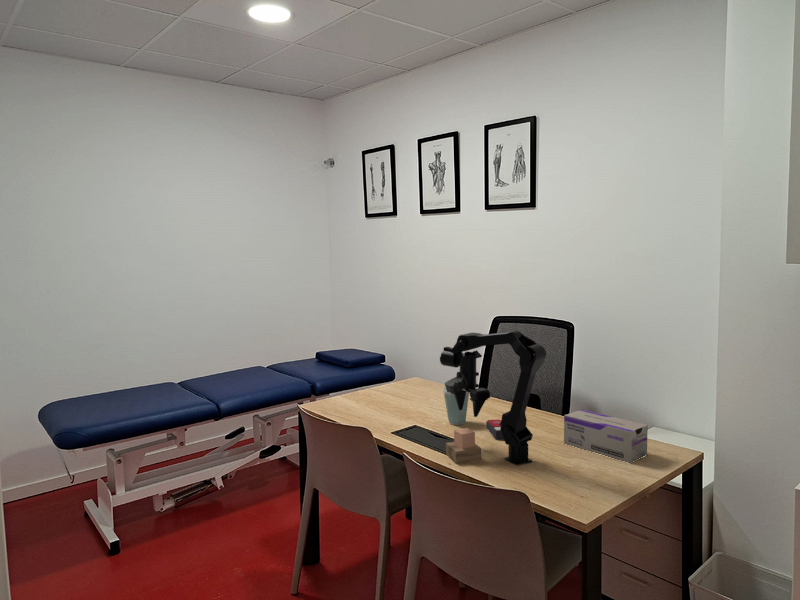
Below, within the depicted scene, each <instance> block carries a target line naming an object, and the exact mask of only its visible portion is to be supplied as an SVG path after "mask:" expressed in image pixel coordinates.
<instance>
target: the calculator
mask: <svg viewBox="0 0 800 600" xmlns="http://www.w3.org/2000/svg"><path fill="white" fill-rule="evenodd" d="M501 420H502V418H501V419H487V420H486V423H485V424H486V425H485V426H486V427H485V428H486V429H487V431H488V430H489V431H488V432H489V433H490V434H491V435H492V437H493V438H494V440H495V441H505V440H504V437H503V434H502V432H501V430H500V428H501V425H499V424H500V423H501ZM517 437H518V436H517Z"/></svg>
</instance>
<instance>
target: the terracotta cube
mask: <svg viewBox="0 0 800 600" xmlns="http://www.w3.org/2000/svg"><path fill="white" fill-rule="evenodd" d="M453 442H454V445H456V446H457V447H459V448H461V449H466V448H471V447H475V444H476V432H475V430H472V429H470V428H468V427H465V428H459V429H454V430H453Z"/></svg>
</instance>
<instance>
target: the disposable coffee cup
mask: <svg viewBox="0 0 800 600" xmlns="http://www.w3.org/2000/svg"><path fill="white" fill-rule="evenodd" d="M442 393H443V395H444V402H445V408H446V413H447V414H446V415H447V418H448V419H447V420H448V423H449V424H450V425H453V426H461V425H460V424H462V425H464V424H465V423H466V420H467V412H468V404H469V398H470V393H469V392H466V395H465V400H464V405H463V408H462V410H459V408H458V405H457V402H456V399H455V396H454V394H451V393H450V392H447V390H446V387H445V385H444V387H443V389H442Z"/></svg>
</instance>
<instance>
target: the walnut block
mask: <svg viewBox="0 0 800 600" xmlns="http://www.w3.org/2000/svg"><path fill="white" fill-rule="evenodd" d="M445 455H446V456H447V457H448V458H449V459H450V460H451V461H452V462H453V463H454V464H455V465H458V464H467V462H468V463H474V461H475V462H481V461H482V460H483V459H482V448H481V446H479V445H478V444H476V443H475V447H471V448H466V449H461V448H459V447H457V446H456V445H454V441H450V442H445Z"/></svg>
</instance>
